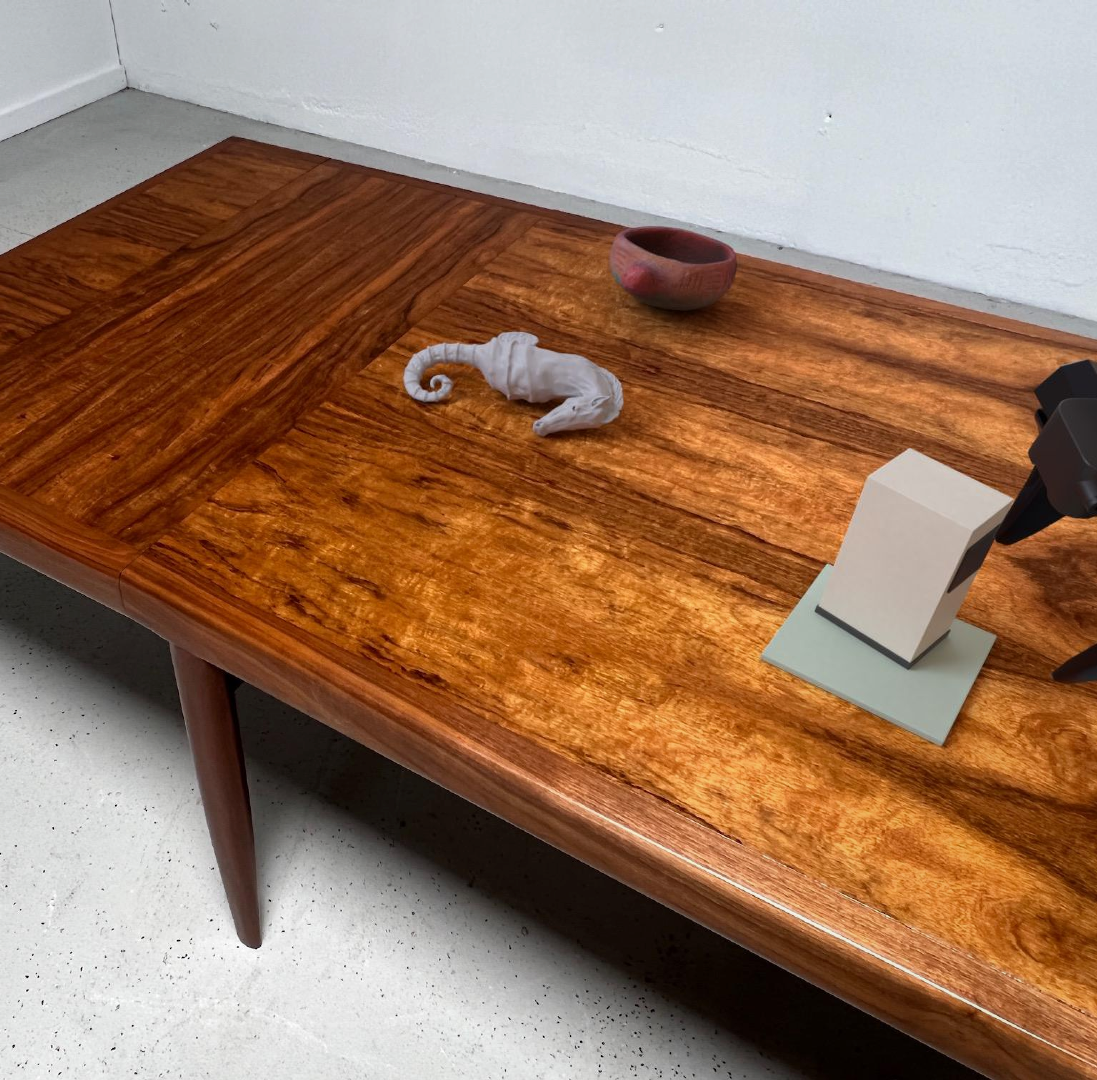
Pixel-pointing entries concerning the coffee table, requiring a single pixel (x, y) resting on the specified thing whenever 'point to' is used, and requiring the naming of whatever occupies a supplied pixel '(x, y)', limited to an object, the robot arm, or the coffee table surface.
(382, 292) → the coffee table surface
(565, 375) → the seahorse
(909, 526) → the white tilted block
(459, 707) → the coffee table surface
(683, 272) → the bowl
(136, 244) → the coffee table surface
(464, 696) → the coffee table surface
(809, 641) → the mat
